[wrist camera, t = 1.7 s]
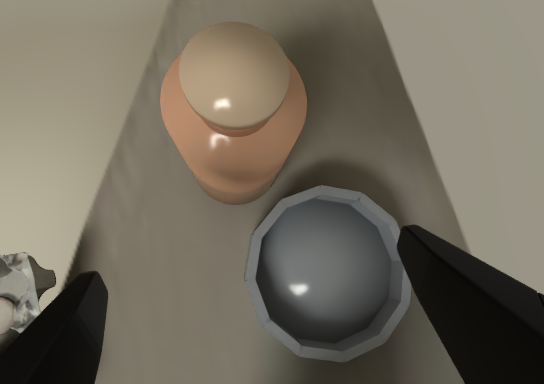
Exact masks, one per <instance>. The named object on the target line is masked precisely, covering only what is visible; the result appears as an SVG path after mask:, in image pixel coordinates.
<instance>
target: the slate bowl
mask: <svg viewBox="0 0 544 384" xmlns="http://www.w3.org/2000/svg"><path fill="white" fill-rule="evenodd" d="M399 235H400V229H399V226H398V224H397V222H396V220H395V219H394V218H393V217H392V216H391V215H389V214H388V213H387V212H386V211H384V210H383V209H382V208H381V207H380V206H378V205H377V204H376V203H375V202H373V201H372V200H371V199H370V198H368V197H367V196H366V195H365V194H363V193H361V192H358V191H352V190H346V189H341V188H335V187H329V186H324V185H321V186H320V185H319V186H316V187H314V188H311V189H308V190H305V191H303V192H300V193H297V194H295V195H292V196H289V197H287V198H284V199H281V200H280V201H279V202H278V203H277V204H276V205H275V207H274V208H273V209H272V210H271V212H270V213H269V214H268V215H267V217H266V218H265V219H264V220H263V221H262V223H261V224H260V225H259V226H258V228H257V229H256V230H255V231H254V232H253V234H252V236H251V238H250V244H249V250H248V256H247V262H246V268H245V274H244V279H245V282H246V285H247V288H248V290H249V293H250V296H251V299H252V301H253V304H254V307H255V310H256V312H257V315H258V318H259V321H260V323H261V325H262V327H263V328H264V329H266V330H267V331H268V332H269V333H270V334H272V335H273V336H274V337H275V338H276V339H278V340H279V341H280V342H281V343H282V344H284V345H285V346H286V347H287V348H288V349H290V350H291V351H292V352H293V353H294V354H296V355H297V356H299V357H305V358H312V359H320V360H327V361H334V362H342V363H343V362H347V361H349V360H351V359H353V358H355V357H357V356H360V355H362V354H364V353H366V352H368V351H370V350H372V349H374V348H376V347H379V346H381V345H383V344H385V343H386V341H387V340H388V338H389V337H390V335H391V334H392V332H393V331H394V329H395V328H396V326H397V324H398V323H399V321H400V320H401V318H402V317H403V315H404V314H405V312H406V311H407V309H408V308H409V305H410V297H411V283H410V280H409V278H408V276H407V273H406V271H405V269H404V266H403V264H402V262H401V259H400V257H399V255H398V252H397V242H398V238H399ZM408 304H409V305H408ZM384 342H385V343H384Z"/></svg>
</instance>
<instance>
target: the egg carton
mask: <svg viewBox="0 0 544 384" xmlns="http://www.w3.org/2000/svg"><path fill="white" fill-rule="evenodd" d="M55 285H56V276H55V273H54V271H53V270H46V269H44V268H42V267H40V266H39V265H38V264H37V262H36V261H35V259H34V258H33V257H31V256H29V255H28V253H24V252H23V253H16V254H11V255H6V256H5V255H0V353H1V352H2V351H3V350H4V349H5V348H6V347H7V346H8V345H9V344H10V343H11V342H12V341H13V340H14V339H15V338H16V337H17V336H18V335H19V334H20V333H21V332H22V331H23V330H24V329H25V328H26V327H27V326H28V325H29V324H30V323H31V322H32V321H33V320H34V319H35V318H36V317H37V316H38V315H39V314H40V313H41V312H40V308H39V304H38V303H39V299H40V297H41V296H42V294H43V293H44V292H45V291H46V290H48V289H50V288H52V287H54V286H55Z"/></svg>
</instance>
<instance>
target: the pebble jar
mask: <svg viewBox="0 0 544 384" xmlns="http://www.w3.org/2000/svg"><path fill="white" fill-rule="evenodd" d="M160 105H161V113H162V117H163V120H164V123H165V126H166V128H167V130H168V132H169V134H170V136H171V137H172V139H173V141H174V142H175V144H176V146H177V148H178V149H179V151H180V153H181V154H182V156H183V158H184V160H185V161H186V163H187V165H188V166H189V168H190V170H191V172H192V173H193V175H194V177H195V178H196V180H197V182H198V183H199V185H200V187H201V188H202V189H203V190H204V192H205V193H207V194H208V195H209V196H210V197H212V198H213V199H215V200H217V201H219V202H222V203H225V204H231V205H241V204H246V203H250V202H252V201H255V200H257V199H258V198H260V197H261V196H263V195H264V194H265V193H266V192H267V191H268V190H269V188H270V187H271V186H272V184H273V182H274V180H275V178H276V177H277V175H278V173H279V171H280V169H281V167H282V166H283V164H284V162H285V160H286V158H287V157H288V155H289V153H290V151H291V149H292V147H293V146H294V144H295V142H296V140H297V138H298V136H299V135H300V133H301V131H302V128H303V125H304V123H305V118H306V113H307V96H306V91H305V87H304V84H303V81H302V79H301V77H300V75H299V73H298V71H297V69H296V68H295V66H294V65H293V64H292V62H291V61H290V60H289V59H288V58H287V57H286V55H285V53H284V51H283V50H282V48H281V47H280V45H279V44H278V43H277V42H276V40H275V39H273V38H272V37H271V36H270V35H269V34H267V33H266V32H265V31H263V30H261V29H259V28H257V27H255V26H252V25H249V24H246V23H240V22H223V23H218V24H215V25H212V26H209V27H207V28H205V29H203V30H202V31H200V32H198V33H197V34H196V35H195V36H194V37H193V38H192V39H191V40H190V41H189V42H188V44H187V45H186V47H185V48H184V50H183V52H182V53H181V54H180V55H179V56H178V57H177V58H176V59H175V61H174V62H173V63H172V65H171V66H170V68H169V69H168V71H167V73H166V76H165V78H164V81H163V84H162V89H161V95H160Z"/></svg>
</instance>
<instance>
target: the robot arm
mask: <svg viewBox="0 0 544 384" xmlns="http://www.w3.org/2000/svg"><path fill="white" fill-rule="evenodd" d="M397 252H398V255H399V257H400V259H401V262H402V264H403V266H404V269H405V271H406V273H407V276H408V278H409V280H410V283H411V285H412V288H413V290H414V292H415V294H416V296H417V298H418V300H419V302H420V304H421V305H422V307H423V309H424V311H425V313H426V314H427V316H428V318H429V320H430V322H431V323H432V325H433V327H434V329H435V331H436V332H437V334H438V336H439V338H440V340H441V341H442V343H443V345H444V347H445V349H446V350H447V352H448V354H449V356H450V358H451V359H452V361H453V363H454V365H455V366H456V368H457V370H458V372H459V374H460V375H461V377H462V379H463V381H464V383H465V384H544V295H543V294H541V293H537V291H536V290H534V289H532V288H530V287H528V286H526V285H525V284H523V283H521V282H519V281H517V280H515V279H514V278H512V277H510V276H508V275H507V274H505V273H503V272H501V271H499V270H497V269H495V268H494V267H492V266H490V265H488V264H486V263H485V262H483V261H481V260H479V259H478V258H476V257H474V256H472V255H470V254H469V253H467V252H465V251H463V250H461V249H459V248H458V247H456V246H454V245H452V244H450V243H449V242H447V241H445V240H443V239H441V238H440V237H438V236H436V235H434V234H432V233H430V232H429V231H427V230H425V229H423V228H421V227H420V226H418V225H408V226H403V227H402V228H401V231H400V235H399V238H398V242H397ZM107 302H108V291H107V288H106V286H105V284H104V282H103V280H102V278H101V276H100V274H99V273H98V272H97V271H89V272H83V273H80V274H79V275H78V276H77V277H76V278H75V279H74V280H73V281H72V282H71V283H70V284H69V285H68V286H67V287H66V288H65V289H64V290H63V291H62V292H61V293H60V294H59V295H58V296H57V297H56V298H55V299H54V300H53V301H52V302H51V303H50V304H49V305H48V306H47V307H46V308H45V309H44V310H43V311H42V312H41V313H40V314H39V315H38V316H37V317H36V318H35V319H34V320H33V321H32V322H31V323H30V324H29V325H28V326H27V327H26V328H25V329H24V330H23V331H22V332H21V333H20V334H19V335H18V336H17V337H16V338H15V339H14V340H13V341H12V342H11V343H10V344H9V345H8V346H7V347H6V348H5V349H4V350H3V351H2V352H1V353H0V384H95V379H96V375H97V371H98V366H99V362H100V357H101V352H102V346H103V338H104V329H105V320H106V311H107Z"/></svg>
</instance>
